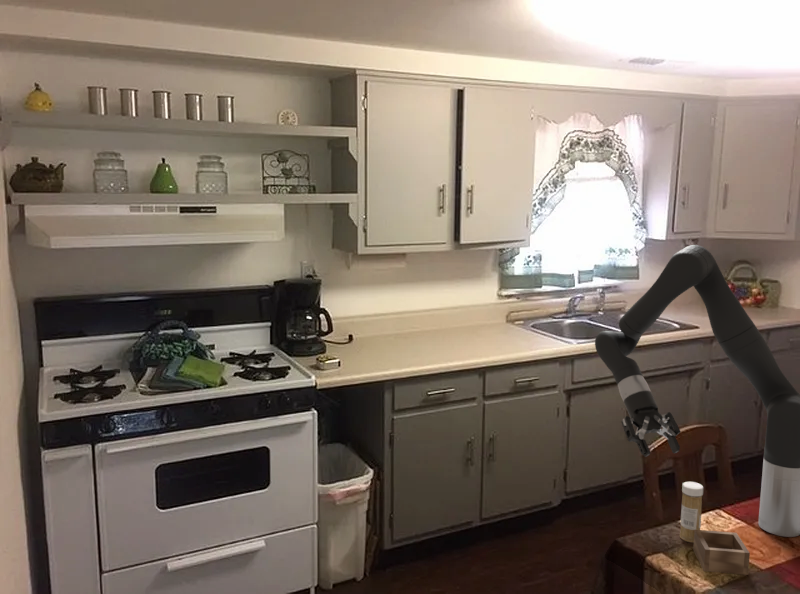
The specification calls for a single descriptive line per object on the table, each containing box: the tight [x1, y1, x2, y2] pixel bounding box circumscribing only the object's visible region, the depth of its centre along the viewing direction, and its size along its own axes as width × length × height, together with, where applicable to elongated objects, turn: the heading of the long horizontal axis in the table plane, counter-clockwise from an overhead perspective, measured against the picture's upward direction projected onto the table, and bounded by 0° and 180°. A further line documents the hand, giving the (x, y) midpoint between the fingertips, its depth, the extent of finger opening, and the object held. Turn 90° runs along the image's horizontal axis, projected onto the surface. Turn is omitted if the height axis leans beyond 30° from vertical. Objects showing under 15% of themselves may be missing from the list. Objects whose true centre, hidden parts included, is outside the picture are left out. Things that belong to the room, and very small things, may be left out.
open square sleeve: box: [692, 529, 751, 576], centre depth 150 cm, size 9×9×5 cm
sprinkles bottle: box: [679, 481, 704, 544], centre depth 160 cm, size 5×5×13 cm
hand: (662, 453), depth 169 cm, fingers open, 8 cm apart
